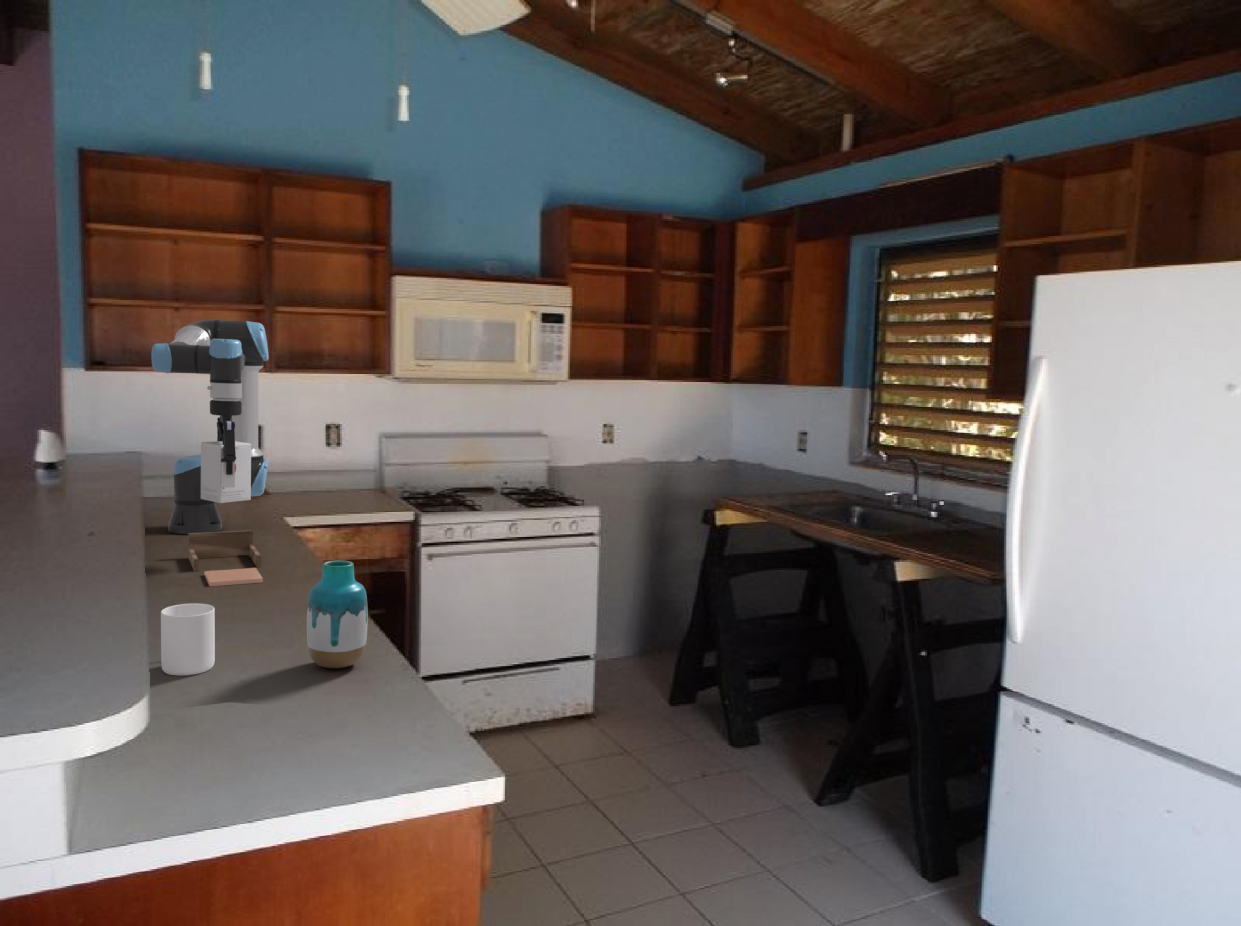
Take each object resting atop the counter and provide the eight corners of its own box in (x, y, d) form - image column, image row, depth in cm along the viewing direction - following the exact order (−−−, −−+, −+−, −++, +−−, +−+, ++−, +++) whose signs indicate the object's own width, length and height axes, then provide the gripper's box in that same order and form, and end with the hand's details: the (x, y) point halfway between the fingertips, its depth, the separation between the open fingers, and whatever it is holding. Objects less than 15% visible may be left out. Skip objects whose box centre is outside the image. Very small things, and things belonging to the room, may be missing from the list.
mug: (211, 652, 171) (211, 596, 170) (216, 673, 160) (216, 613, 159) (160, 657, 167) (159, 600, 166) (162, 679, 156) (161, 618, 155)
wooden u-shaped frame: (188, 557, 245) (188, 533, 244) (252, 554, 253) (252, 530, 252) (193, 571, 231) (193, 544, 230) (261, 566, 239) (261, 541, 238)
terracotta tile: (204, 575, 228) (204, 571, 227) (255, 571, 234) (255, 567, 233) (209, 586, 217) (209, 582, 217) (263, 582, 223) (262, 578, 223)
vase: (375, 658, 172) (377, 559, 170) (353, 677, 161) (355, 571, 159) (321, 654, 173) (322, 555, 171) (296, 673, 162) (296, 567, 160)
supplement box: (220, 503, 230) (219, 445, 229) (199, 499, 235) (199, 441, 234) (252, 500, 238) (252, 443, 236) (231, 495, 243) (231, 439, 241)
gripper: (205, 396, 242) (205, 477, 244) (214, 402, 221) (215, 491, 224) (235, 396, 246) (235, 477, 248) (247, 403, 225) (248, 490, 228)
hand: (226, 483), depth 236 cm, fingers closed on supplement box, 11 cm apart
